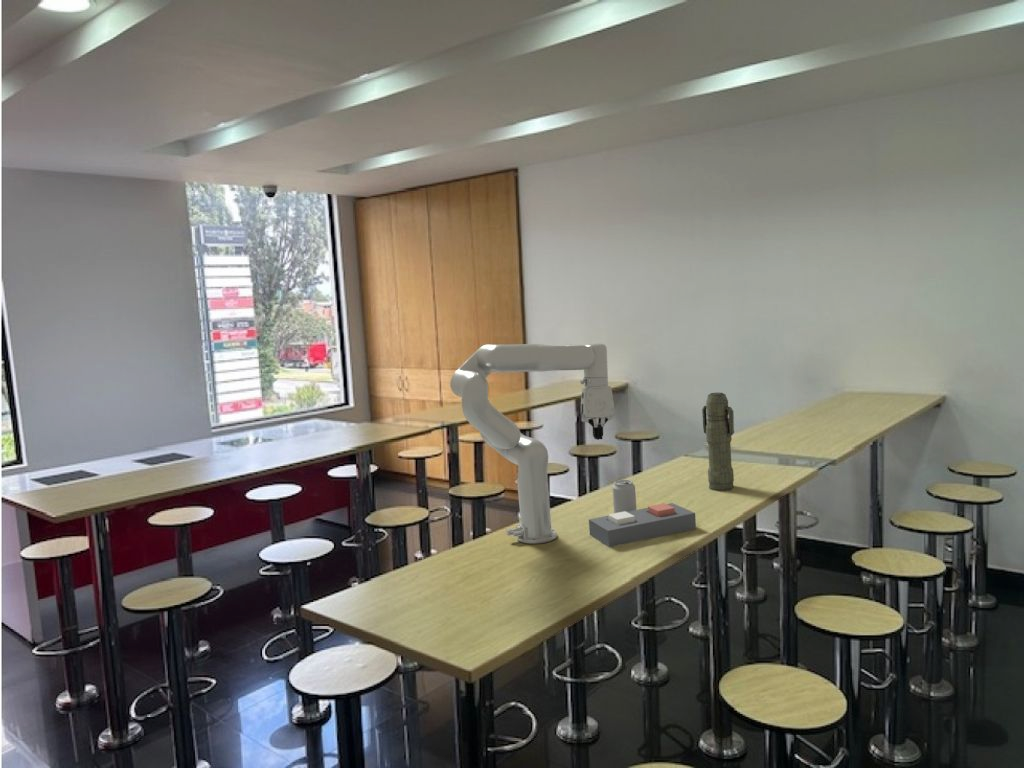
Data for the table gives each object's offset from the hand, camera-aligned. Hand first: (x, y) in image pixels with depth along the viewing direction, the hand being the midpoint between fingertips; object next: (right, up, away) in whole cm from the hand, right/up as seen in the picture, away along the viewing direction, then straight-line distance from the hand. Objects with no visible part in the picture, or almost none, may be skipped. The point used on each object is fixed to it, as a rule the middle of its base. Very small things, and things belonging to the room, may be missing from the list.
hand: (598, 438), depth 232 cm
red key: (+19, -25, -7) cm, 32 cm away
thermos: (+49, -21, +32) cm, 62 cm away
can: (+10, -27, +7) cm, 29 cm away
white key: (+6, -26, -12) cm, 30 cm away
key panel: (+13, -28, -9) cm, 32 cm away
